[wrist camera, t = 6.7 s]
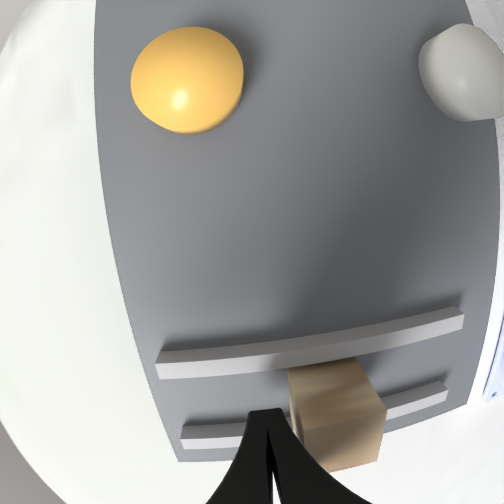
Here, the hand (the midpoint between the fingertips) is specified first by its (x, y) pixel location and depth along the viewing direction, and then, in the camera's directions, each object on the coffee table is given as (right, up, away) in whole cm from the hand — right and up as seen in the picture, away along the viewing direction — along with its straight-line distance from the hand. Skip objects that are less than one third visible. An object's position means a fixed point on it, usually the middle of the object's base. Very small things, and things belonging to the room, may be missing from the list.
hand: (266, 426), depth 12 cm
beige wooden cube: (+3, +1, +2) cm, 3 cm away
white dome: (+7, +14, -2) cm, 16 cm away
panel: (+3, +8, +2) cm, 9 cm away
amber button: (-3, +13, -1) cm, 13 cm away
